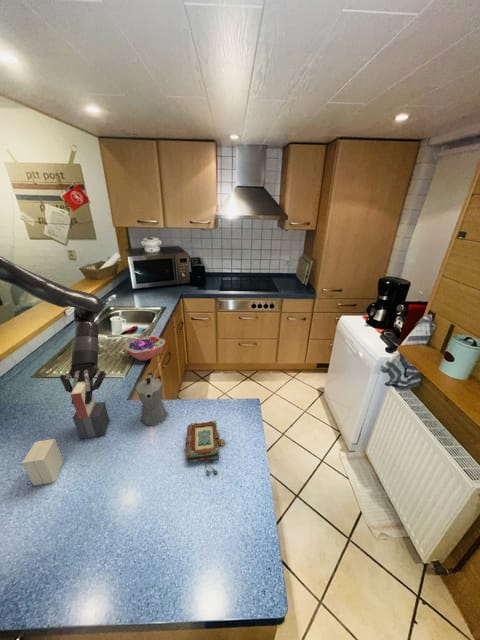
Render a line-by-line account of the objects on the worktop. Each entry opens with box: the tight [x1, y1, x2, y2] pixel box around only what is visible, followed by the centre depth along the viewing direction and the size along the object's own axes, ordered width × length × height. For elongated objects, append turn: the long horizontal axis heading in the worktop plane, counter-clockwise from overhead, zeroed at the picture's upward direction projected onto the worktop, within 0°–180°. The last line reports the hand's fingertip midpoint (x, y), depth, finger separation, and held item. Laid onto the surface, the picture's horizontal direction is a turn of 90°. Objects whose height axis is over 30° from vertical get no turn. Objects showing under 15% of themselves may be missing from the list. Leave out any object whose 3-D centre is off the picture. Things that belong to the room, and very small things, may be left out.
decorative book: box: [185, 420, 226, 476], centre depth 84 cm, size 13×18×5 cm
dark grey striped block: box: [72, 401, 110, 440], centre depth 90 cm, size 8×7×10 cm
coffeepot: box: [135, 372, 167, 426], centre depth 95 cm, size 15×9×18 cm, turn 16°
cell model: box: [125, 335, 166, 362], centre depth 134 cm, size 17×20×11 cm
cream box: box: [21, 438, 64, 486], centre depth 75 cm, size 5×7×10 cm
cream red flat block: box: [70, 381, 96, 419], centre depth 81 cm, size 3×7×10 cm, turn 12°
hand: (81, 404), depth 79 cm, fingers closed on cream red flat block, 2 cm apart
